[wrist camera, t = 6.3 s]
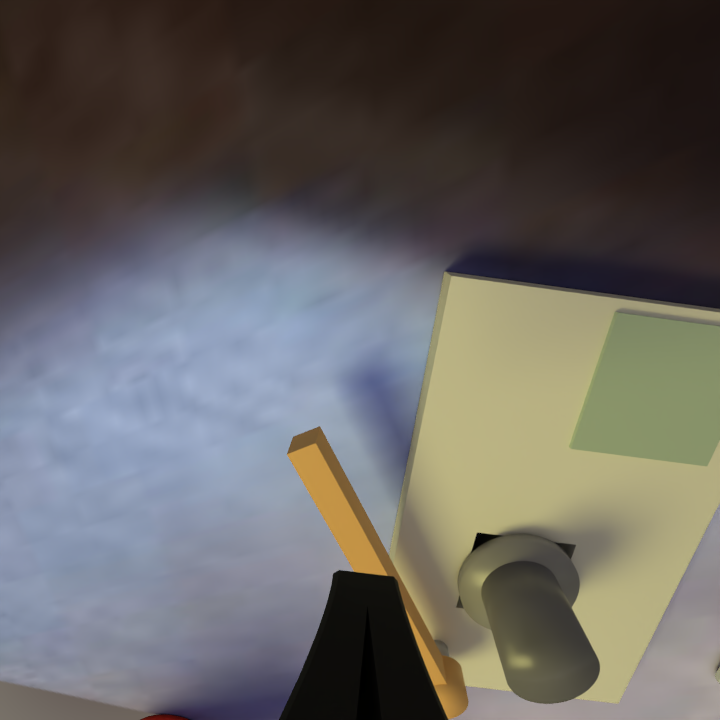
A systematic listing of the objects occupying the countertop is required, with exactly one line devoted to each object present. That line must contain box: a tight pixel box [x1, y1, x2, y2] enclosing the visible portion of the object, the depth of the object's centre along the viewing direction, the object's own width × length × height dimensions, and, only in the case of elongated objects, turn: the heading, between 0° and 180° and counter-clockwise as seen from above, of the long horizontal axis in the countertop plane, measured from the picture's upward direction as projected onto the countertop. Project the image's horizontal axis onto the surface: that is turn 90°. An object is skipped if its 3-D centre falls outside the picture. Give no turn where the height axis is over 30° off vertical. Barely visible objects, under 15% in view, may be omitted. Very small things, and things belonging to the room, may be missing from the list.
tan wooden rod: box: [287, 426, 468, 719], centre depth 18 cm, size 2×16×1 cm, turn 24°
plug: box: [458, 533, 600, 704], centre depth 19 cm, size 6×6×6 cm
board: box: [389, 271, 720, 703], centre depth 19 cm, size 14×22×2 cm, turn 173°
